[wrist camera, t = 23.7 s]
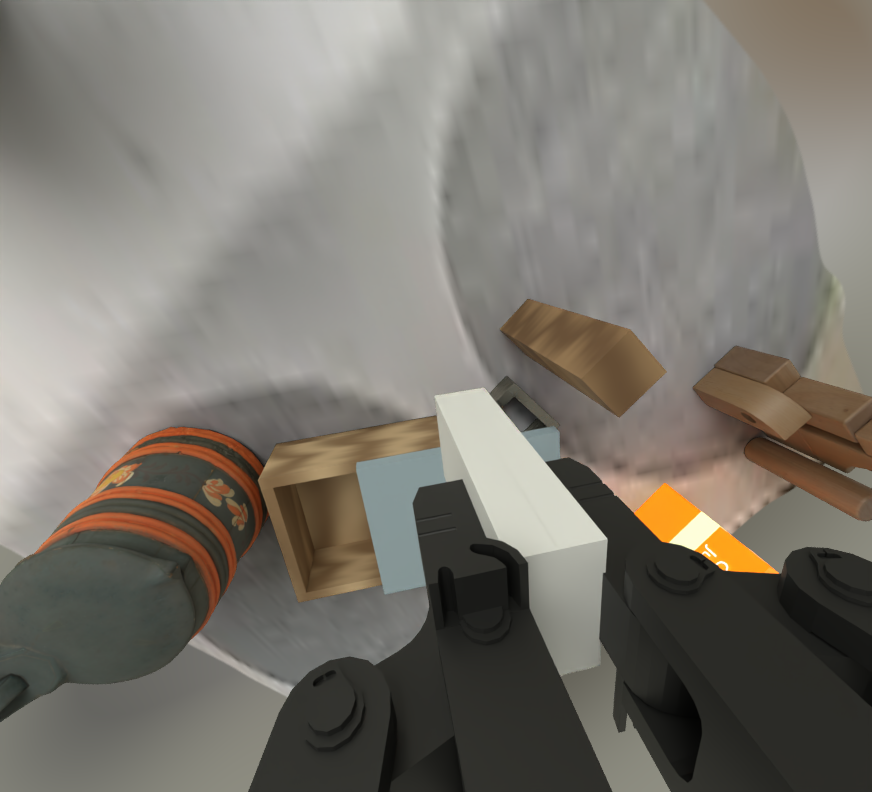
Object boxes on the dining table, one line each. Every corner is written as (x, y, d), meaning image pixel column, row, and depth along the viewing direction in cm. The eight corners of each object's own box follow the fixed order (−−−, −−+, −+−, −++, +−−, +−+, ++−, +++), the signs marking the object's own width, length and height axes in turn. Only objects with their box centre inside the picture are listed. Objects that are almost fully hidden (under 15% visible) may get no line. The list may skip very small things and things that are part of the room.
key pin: (525, 354, 42) (619, 417, 26) (499, 329, 40) (581, 379, 24) (553, 325, 41) (666, 371, 25) (527, 298, 40) (630, 329, 24)
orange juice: (699, 510, 52) (879, 654, 34) (650, 557, 54) (797, 719, 35) (664, 481, 50) (837, 618, 31) (614, 531, 51) (750, 690, 33)
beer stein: (172, 592, 45) (30, 833, 26) (52, 510, 40) (-231, 736, 21) (302, 495, 43) (249, 678, 25) (194, 396, 38) (23, 533, 20)
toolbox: (309, 552, 46) (298, 602, 39) (276, 443, 41) (257, 480, 34) (463, 521, 47) (477, 564, 41) (449, 413, 43) (463, 442, 36)
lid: (384, 585, 40) (385, 616, 36) (356, 462, 35) (354, 485, 32) (557, 548, 42) (573, 574, 38) (553, 426, 37) (572, 444, 33)
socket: (504, 461, 46) (511, 473, 43) (459, 424, 43) (464, 434, 41) (550, 416, 44) (560, 425, 42) (506, 375, 42) (514, 382, 40)
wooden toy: (688, 387, 46) (1014, 527, 22) (735, 344, 45) (1126, 444, 21) (750, 463, 51) (1067, 642, 28) (793, 426, 50) (1160, 579, 27)
